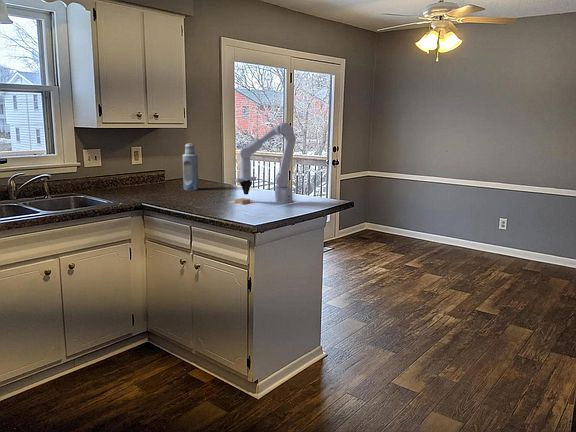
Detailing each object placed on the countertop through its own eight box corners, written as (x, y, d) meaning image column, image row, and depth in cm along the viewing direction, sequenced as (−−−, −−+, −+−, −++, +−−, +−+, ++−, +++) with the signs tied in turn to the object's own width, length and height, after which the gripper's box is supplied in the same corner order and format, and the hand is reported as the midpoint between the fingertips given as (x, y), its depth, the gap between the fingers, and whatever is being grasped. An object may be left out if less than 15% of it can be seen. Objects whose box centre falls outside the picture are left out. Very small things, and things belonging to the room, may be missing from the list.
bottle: (180, 190, 319) (178, 143, 313) (188, 188, 328) (186, 143, 322) (194, 190, 316) (192, 144, 310) (201, 188, 325) (199, 143, 319)
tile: (250, 199, 270) (242, 200, 265) (250, 202, 270) (242, 203, 266) (242, 198, 274) (234, 199, 269) (242, 201, 274) (234, 202, 269)
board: (260, 203, 272) (260, 201, 272) (244, 206, 263) (244, 204, 262) (243, 200, 281) (243, 198, 281) (226, 203, 271) (226, 201, 271)
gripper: (249, 168, 276) (250, 192, 279) (231, 170, 265) (231, 195, 268) (258, 169, 272) (259, 193, 275) (240, 171, 261) (240, 196, 264)
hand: (246, 194), depth 271 cm, fingers closed
